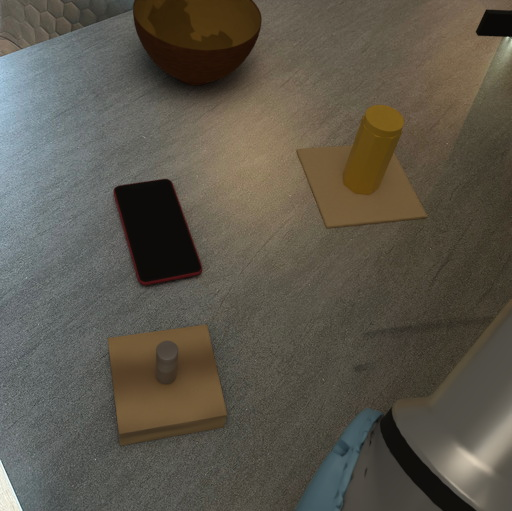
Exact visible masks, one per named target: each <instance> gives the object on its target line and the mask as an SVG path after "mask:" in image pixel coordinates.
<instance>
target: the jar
mask: <svg viewBox="0 0 512 511" xmlns="http://www.w3.org/2000/svg"><path fill="white" fill-rule="evenodd" d="M404 125H405V118H404V116H403V114H402V113H400V112H399V111H398V109H396V108H393V107H391V106H389V105H386V104H374V105H371V106H369V107H368V108H367V109H366V110H365V113H364V115H362V117H361V120H360V123H359V126H358V128H357V132H356V135H355V138H354V140H353V143H352V145H353V146H352V149H351V152H350V154H349V157H348V160H347V163H346V166H345V169H344V172H343V183H344V185H345V186H346V187H347V188H349V189H350V190H351V191H352V192H354V193H356V194H364V195H370V194H371V193H373V192H374V191H376V190H377V189H379V186H380V184H381V182H382V179H383V177H384V174H385V172H386V170H387V167H388V165H389V163H390V160H391V158H392V156H393V153H395V151H396V148H397V146H398V144H399V141H400V138H401V136H402V134H403V129H404Z"/></svg>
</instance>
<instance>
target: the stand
mask: <svg viewBox="0 0 512 511" xmlns="http://www.w3.org/2000/svg"><path fill="white" fill-rule="evenodd" d="M107 346H108V356H109V364H110V372H111V373H110V374H111V380H112V390H113V398H114V407H115V416H116V423H117V432H118V440H119V442H118V443H119V446H120V447H122V446H129V445H135V444H139V443H144V442H151V441H156V440H161V439H166V438H171V437H172V438H173V437H177V436H184V435H187V434H194V433H199V432H205V431H211V430H216V429H222V428H225V426H226V422H227V418H228V412H227V406H226V403H225V402H226V401H225V399H224V393H223V390H222V389H223V388H222V385H221V380H220V376H219V372H218V367H217V363H216V358H215V353H214V349H213V345H212V340H211V336H210V332H209V327H208V324H207V323H206V324H205V323H204V324H199V325H192V326H185V327H177V328H170V329H162V330H155V331H154V330H153V331H148V332H141V333H133V334H125V335H119V336H111V337H107Z"/></svg>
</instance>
